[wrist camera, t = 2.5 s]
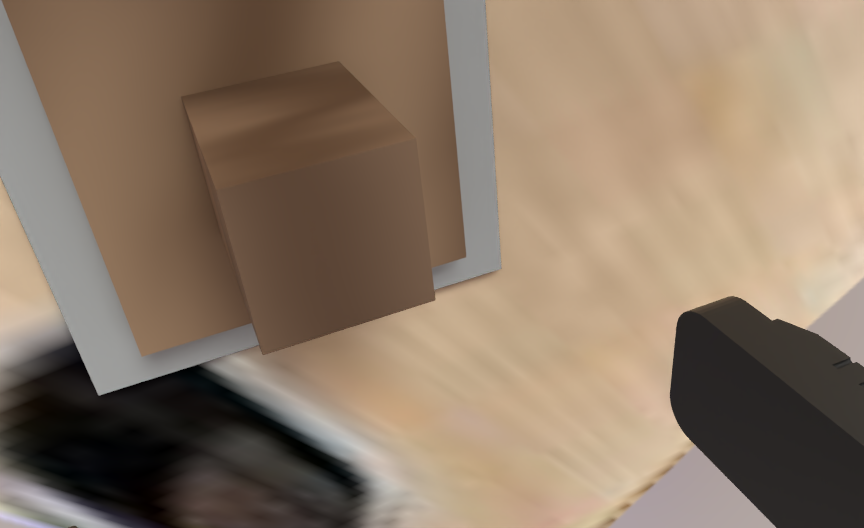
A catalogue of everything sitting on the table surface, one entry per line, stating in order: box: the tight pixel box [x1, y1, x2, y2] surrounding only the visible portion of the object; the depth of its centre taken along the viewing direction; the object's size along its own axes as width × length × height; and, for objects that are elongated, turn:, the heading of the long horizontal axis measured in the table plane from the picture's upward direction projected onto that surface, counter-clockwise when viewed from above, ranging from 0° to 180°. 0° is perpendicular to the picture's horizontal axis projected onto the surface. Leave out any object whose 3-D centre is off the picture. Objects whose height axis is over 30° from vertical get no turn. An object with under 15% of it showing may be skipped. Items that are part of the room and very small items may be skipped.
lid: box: [1, 0, 466, 357], centre depth 17 cm, size 9×9×6 cm
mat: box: [0, 0, 501, 395], centre depth 20 cm, size 12×12×1 cm
